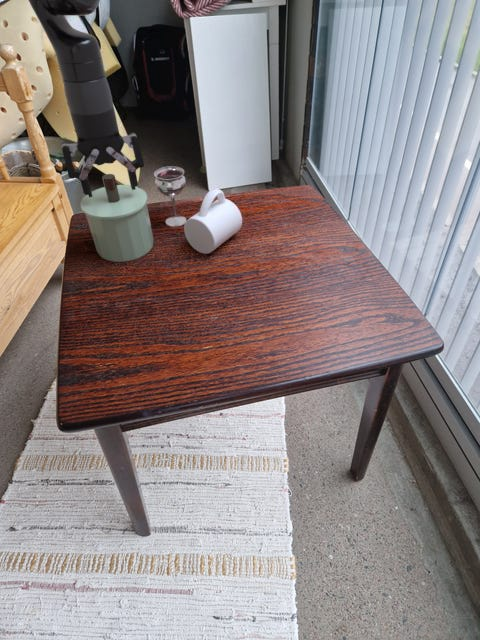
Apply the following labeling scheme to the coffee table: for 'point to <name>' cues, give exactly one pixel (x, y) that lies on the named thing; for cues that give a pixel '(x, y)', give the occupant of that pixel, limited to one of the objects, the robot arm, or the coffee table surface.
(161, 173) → the wineglass
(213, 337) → the coffee table surface
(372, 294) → the coffee table surface
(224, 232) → the mug
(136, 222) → the jar
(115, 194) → the lid
